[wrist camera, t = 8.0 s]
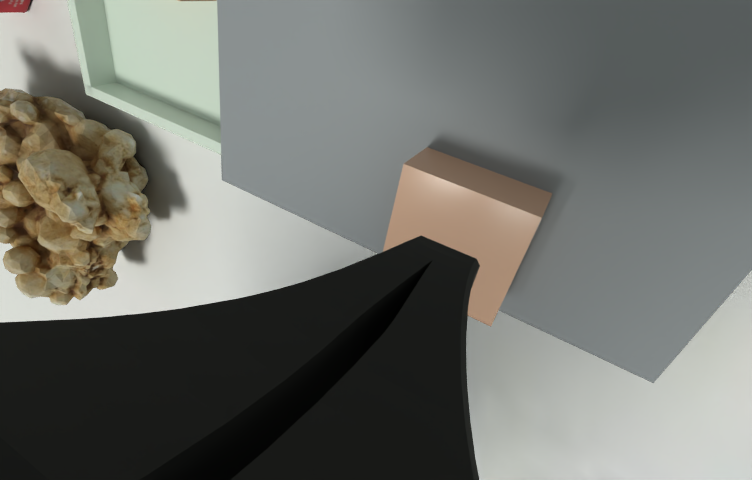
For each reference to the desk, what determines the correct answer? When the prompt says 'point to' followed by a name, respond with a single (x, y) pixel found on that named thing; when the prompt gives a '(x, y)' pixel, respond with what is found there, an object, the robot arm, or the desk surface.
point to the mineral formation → (65, 197)
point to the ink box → (14, 5)
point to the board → (518, 141)
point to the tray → (153, 62)
